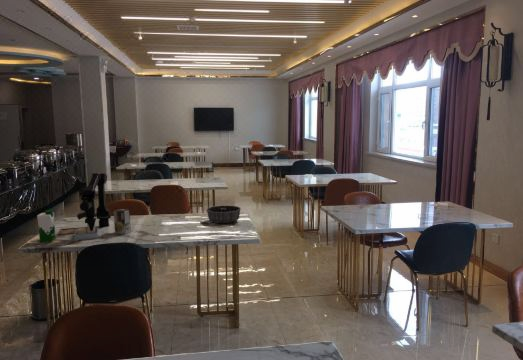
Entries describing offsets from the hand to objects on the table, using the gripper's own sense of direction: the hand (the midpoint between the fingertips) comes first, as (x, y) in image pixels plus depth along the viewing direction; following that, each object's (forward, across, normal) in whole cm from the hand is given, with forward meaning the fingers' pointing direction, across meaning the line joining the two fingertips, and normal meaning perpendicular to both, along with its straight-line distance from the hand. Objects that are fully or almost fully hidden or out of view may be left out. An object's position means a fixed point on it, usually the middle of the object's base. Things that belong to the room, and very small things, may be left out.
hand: (91, 230), depth 295 cm
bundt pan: (+5, -13, +94) cm, 95 cm away
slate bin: (+4, 0, -3) cm, 5 cm away
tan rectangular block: (+4, 0, -6) cm, 7 cm away
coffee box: (+4, -3, +20) cm, 21 cm away
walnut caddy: (+4, -16, -13) cm, 21 cm away
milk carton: (+4, +2, -27) cm, 27 cm away
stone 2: (+1, 0, 0) cm, 1 cm away
